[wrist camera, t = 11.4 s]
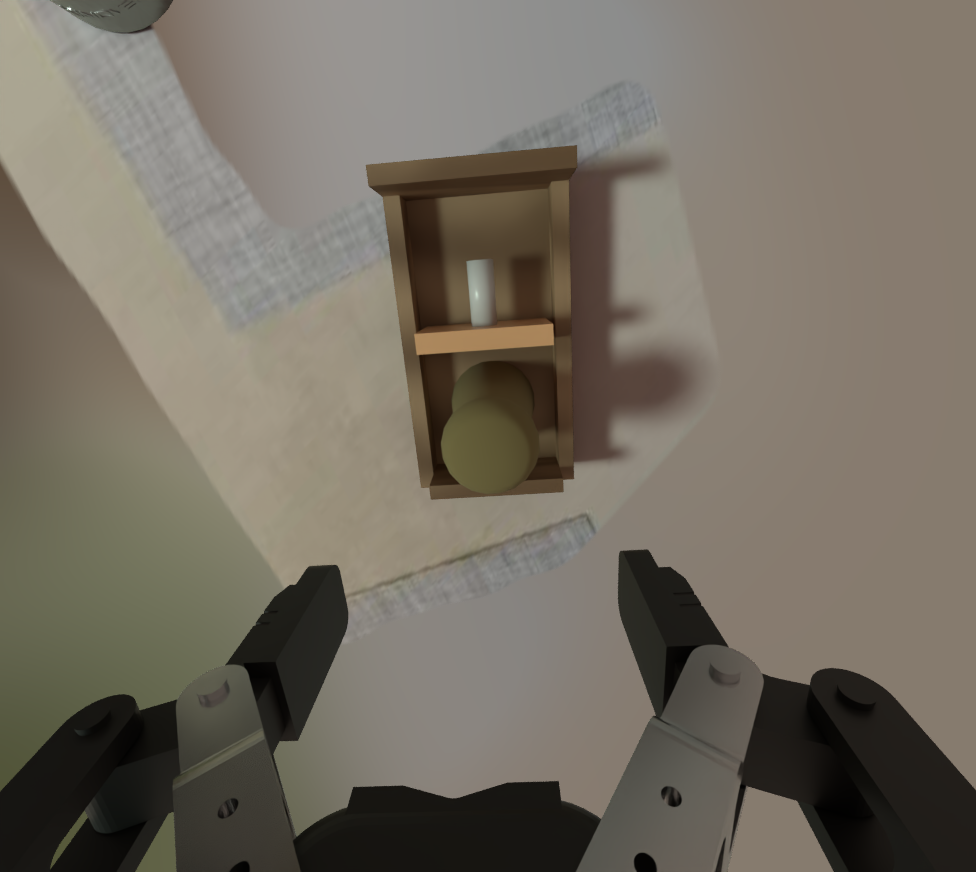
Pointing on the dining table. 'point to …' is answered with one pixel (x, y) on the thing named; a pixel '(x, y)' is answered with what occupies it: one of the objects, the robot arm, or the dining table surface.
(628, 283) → the dining table surface
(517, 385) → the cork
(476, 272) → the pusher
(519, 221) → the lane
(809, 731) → the robot arm
